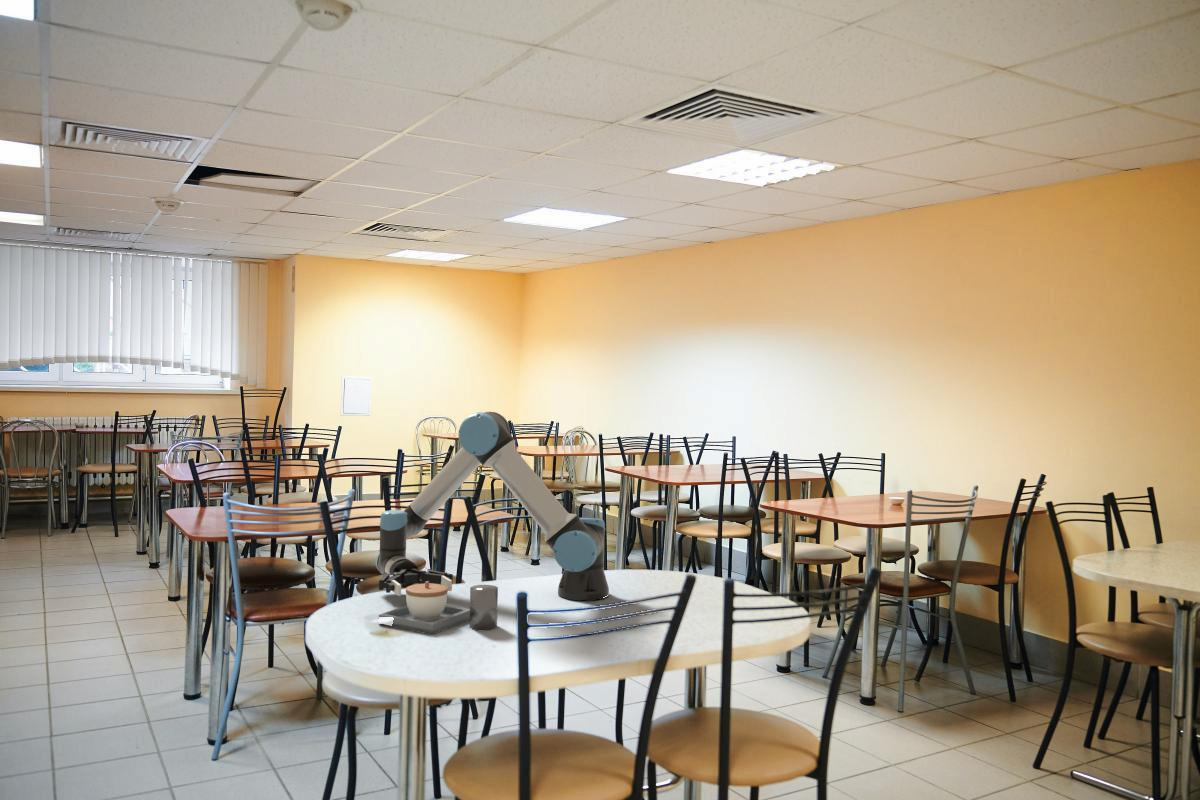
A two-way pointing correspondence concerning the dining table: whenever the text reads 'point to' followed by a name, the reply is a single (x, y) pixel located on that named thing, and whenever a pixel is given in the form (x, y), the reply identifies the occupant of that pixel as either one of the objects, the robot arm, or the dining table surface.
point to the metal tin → (483, 607)
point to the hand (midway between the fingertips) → (425, 588)
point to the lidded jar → (426, 600)
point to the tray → (444, 620)
